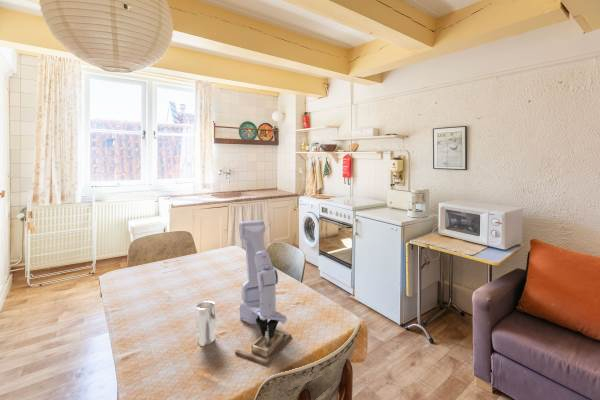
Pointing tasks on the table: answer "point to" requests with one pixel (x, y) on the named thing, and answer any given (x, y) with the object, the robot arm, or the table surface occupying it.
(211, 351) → the table surface
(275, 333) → the crate
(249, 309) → the robot arm
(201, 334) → the silver metal tumbler
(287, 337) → the bay
